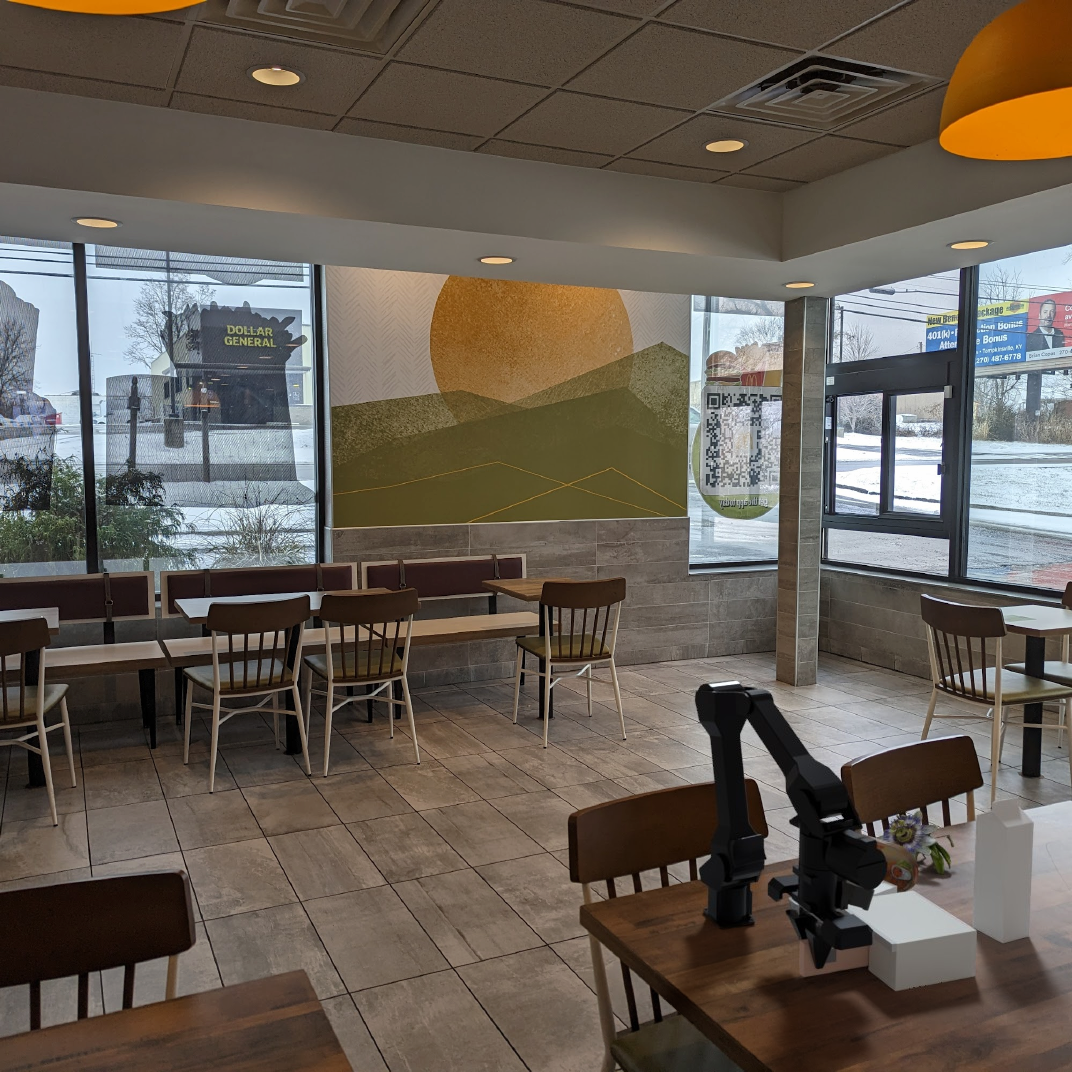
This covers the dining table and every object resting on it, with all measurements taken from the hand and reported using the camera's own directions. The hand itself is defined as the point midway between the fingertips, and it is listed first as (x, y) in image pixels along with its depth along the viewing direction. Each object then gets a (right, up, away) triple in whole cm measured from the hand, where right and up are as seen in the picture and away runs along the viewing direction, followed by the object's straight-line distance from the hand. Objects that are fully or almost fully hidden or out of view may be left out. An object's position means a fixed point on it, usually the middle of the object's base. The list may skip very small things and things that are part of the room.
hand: (816, 965), depth 141 cm
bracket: (+13, -1, +23) cm, 27 cm away
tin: (+20, 0, +31) cm, 37 cm away
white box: (+15, -1, +5) cm, 16 cm away
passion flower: (+31, +1, +41) cm, 51 cm away
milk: (+34, -1, +14) cm, 37 cm away
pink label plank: (+8, -1, +3) cm, 9 cm away
